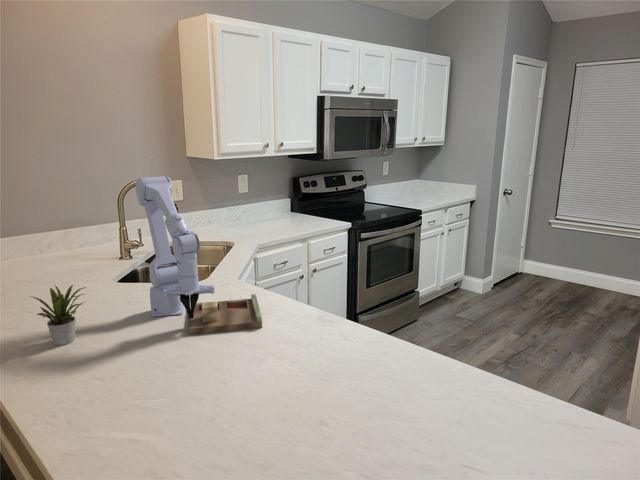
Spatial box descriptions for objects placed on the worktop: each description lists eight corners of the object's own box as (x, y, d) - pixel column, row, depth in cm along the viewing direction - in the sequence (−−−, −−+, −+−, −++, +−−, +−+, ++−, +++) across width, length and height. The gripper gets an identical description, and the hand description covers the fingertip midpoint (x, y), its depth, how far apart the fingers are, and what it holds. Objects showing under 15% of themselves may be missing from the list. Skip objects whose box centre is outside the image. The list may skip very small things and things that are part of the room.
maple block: (202, 322, 136) (201, 308, 135) (203, 316, 140) (202, 302, 139) (218, 320, 137) (217, 306, 136) (218, 315, 141) (217, 301, 140)
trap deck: (189, 335, 132) (188, 323, 131) (192, 309, 151) (191, 299, 150) (262, 327, 137) (261, 317, 136) (255, 303, 156) (255, 294, 155)
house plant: (108, 334, 133) (101, 281, 129) (68, 356, 120) (60, 297, 116) (70, 327, 137) (63, 276, 133) (28, 347, 124) (19, 291, 121)
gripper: (160, 280, 128) (164, 324, 132) (213, 276, 132) (215, 320, 135) (163, 272, 135) (166, 315, 138) (213, 269, 138) (215, 311, 142)
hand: (191, 317), depth 137 cm, fingers closed
